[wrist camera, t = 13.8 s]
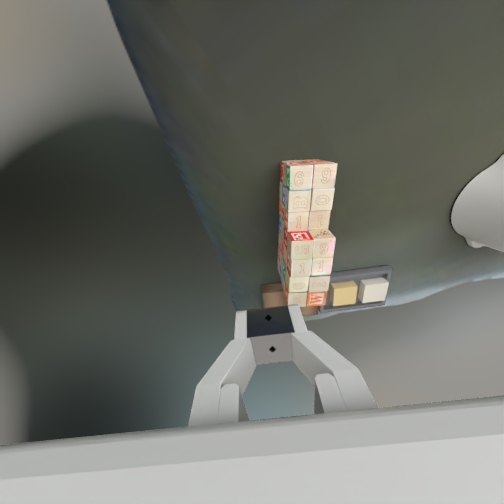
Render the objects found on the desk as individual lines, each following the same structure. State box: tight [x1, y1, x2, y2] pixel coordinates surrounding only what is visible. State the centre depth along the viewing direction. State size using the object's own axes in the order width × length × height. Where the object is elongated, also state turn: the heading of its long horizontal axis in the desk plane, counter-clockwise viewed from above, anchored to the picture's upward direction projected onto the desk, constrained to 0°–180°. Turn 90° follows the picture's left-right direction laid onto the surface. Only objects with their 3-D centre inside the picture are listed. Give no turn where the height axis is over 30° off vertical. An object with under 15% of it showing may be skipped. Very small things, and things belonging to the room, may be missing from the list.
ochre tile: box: [330, 281, 358, 306], centre depth 45 cm, size 5×5×2 cm
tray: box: [318, 265, 393, 313], centre depth 45 cm, size 15×10×2 cm, turn 98°
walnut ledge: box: [261, 283, 318, 316], centre depth 45 cm, size 12×8×3 cm, turn 98°
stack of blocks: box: [277, 159, 338, 307], centre depth 33 cm, size 21×6×12 cm, turn 2°
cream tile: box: [358, 277, 389, 303], centre depth 44 cm, size 5×5×2 cm
